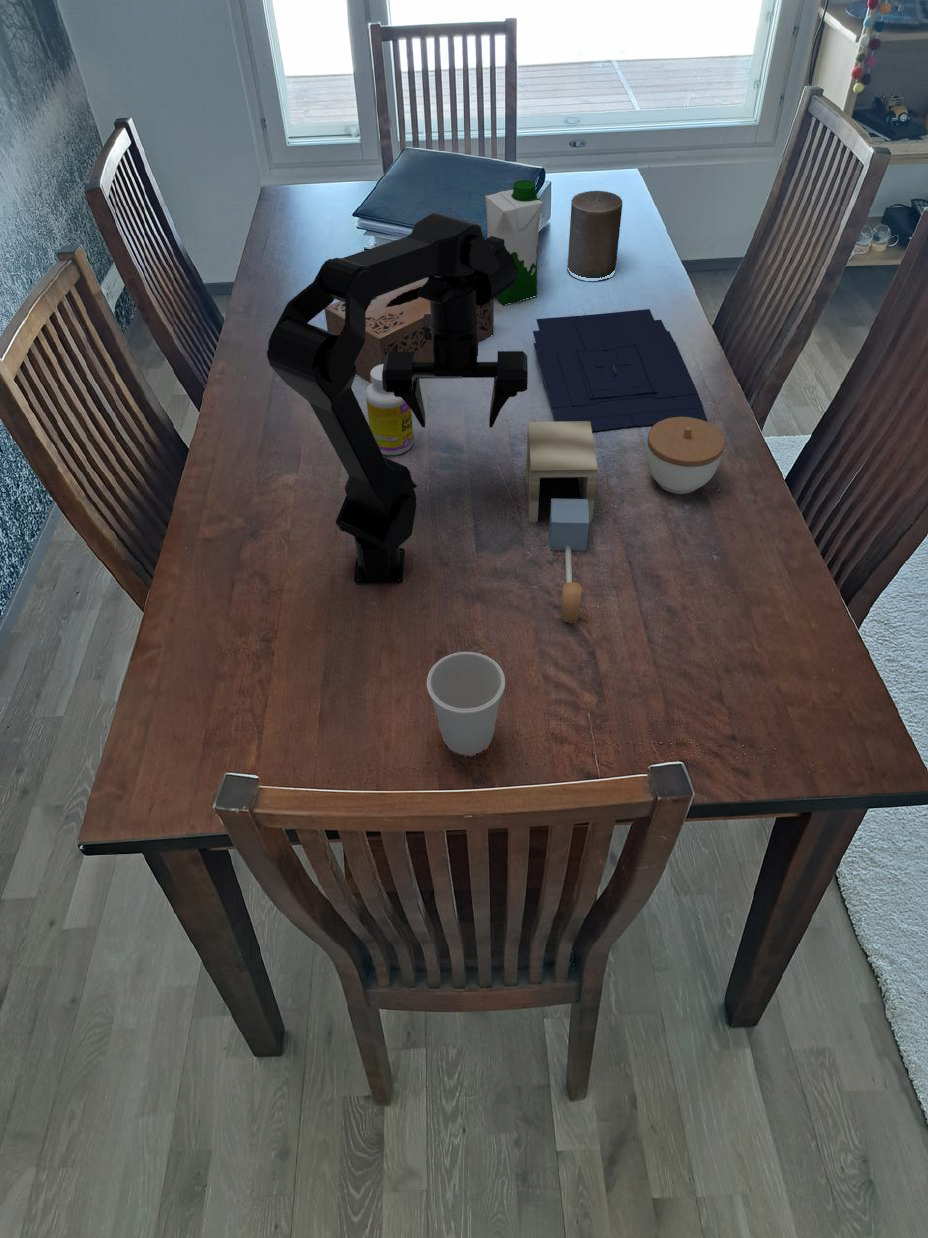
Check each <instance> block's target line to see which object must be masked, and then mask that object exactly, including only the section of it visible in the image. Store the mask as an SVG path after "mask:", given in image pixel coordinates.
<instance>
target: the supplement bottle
mask: <svg viewBox="0 0 928 1238" xmlns="http://www.w3.org/2000/svg"><path fill="white" fill-rule="evenodd" d="M383 365H384V364H381V365H378V366H375V367H374V368H373V369H372V370H371V373H370V375H371V382H372V383H369V385H368V387H367V388H366V390H365V398H366V408H367V417H368V425H369V427H370V429H371V431H372V433H373V435H374V437H375V439H376V442H377V444H378V446H379V448H380V450H381V452H382V454H383V456H398V455H402V454H404V453H406V452H407V451H409V450H410V449H411V448H412V446H413V444H414V429H413V415H412V413H413V411H412V410H411V409H410V407H409V406H408V405H407V404H406V403H405V401H404V400H403V399H402V398H401V397H395V396H394V392H386V391H384V390H383V383H382V370H383Z"/></svg>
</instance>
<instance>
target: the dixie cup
mask: <svg viewBox="0 0 928 1238" xmlns="http://www.w3.org/2000/svg"><path fill="white" fill-rule="evenodd" d="M426 689H427V693H428V694H429V696H430V698H431V701H432V704H433V707H434V711H435V715H436V717H437V719H436V720H437V721H438V722H437V723H438V725H439V730H440V732H441V736H442V740H443V743H444V742H445V743H444V745H445V744H446V745H447V746H448V747H449V748H450V749H451V750H453V751H455V752H457V753H460V754H466V755H470V754H476V753H479V752H481V751H482V750H484V749H485V748H486V747H488V745H489V744H490V742H491V741H493V738H494V733H495V729H496V728H495V727H496V723H497V717H498V712H499V707H500V703H501V699H502V695H504V694H503V693H504V691H505V689H506V677H505V674H504V671H503V669H502V668H501V666H500V665H499V664H498V663H497V662H496V661H495V660H494V659H493V658H490V657H489V656H487V655H485V654H482V653H480V652H474V651H458V652H454V653H451V654H449V655H446V656H444V657H441V659H439V660H437V661H436V663H435V664H434V665H432V667H431V668H430V670H429V672H428V675H427V678H426ZM491 743H492V742H491ZM446 745H445V746H446ZM490 745H491V744H490ZM488 748H489V747H488Z"/></svg>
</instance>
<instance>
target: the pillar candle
mask: <svg viewBox="0 0 928 1238" xmlns="http://www.w3.org/2000/svg"><path fill="white" fill-rule="evenodd" d="M570 207H571V209H570V223H569V236H568V237H569V238H568V239H569V240H568V251H567V252H568V253H567V267H568V268H569V270H570V271H571V272H572V273H574V274H576V275H578V276H581V277H586V278H600V277H601V278H602V277H605V276H607V275H610V274H611V273H612V272H613V271H614V270H615V268H616V269H617V267H616V266H617V261H618V248H619V241H620V240H619V239H620V231H621V229H620V228H621V221H622V212H623V200H622V198H621V196H619V195H617V194H616V193H613V192H611V191H604V190H588V191H584V192H579V193H577V194H575V195H573V197H572V199H571V205H570Z"/></svg>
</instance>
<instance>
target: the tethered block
mask: <svg viewBox="0 0 928 1238" xmlns="http://www.w3.org/2000/svg"><path fill="white" fill-rule="evenodd" d="M549 513H550V515H549V551H564V552H565V583H564V585H563V586H562V592H561V593H562V595H561V604H560V605H561V608H560V619H561V621H563V620H564V621H565V622H564V621H563V622H564V623H566V622H575V621H577V620H578V619H579V620H580V614H581V607H582V606H581V604H582V596H583V595H582V594H583V587H582V585H581V584H580V583H578V582H574V581H573V570H572V569H573V564H572V562H573V561H572V552H573V551H575V552H576V551H577V552H587V548H588V547H587V546H588V537H589V529H590V527H589V526H590V522H589V510H588V499H581V498H551V499H550V511H549ZM579 620H578V621H579ZM578 621H577V622H578ZM575 623H576V622H575Z"/></svg>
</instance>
